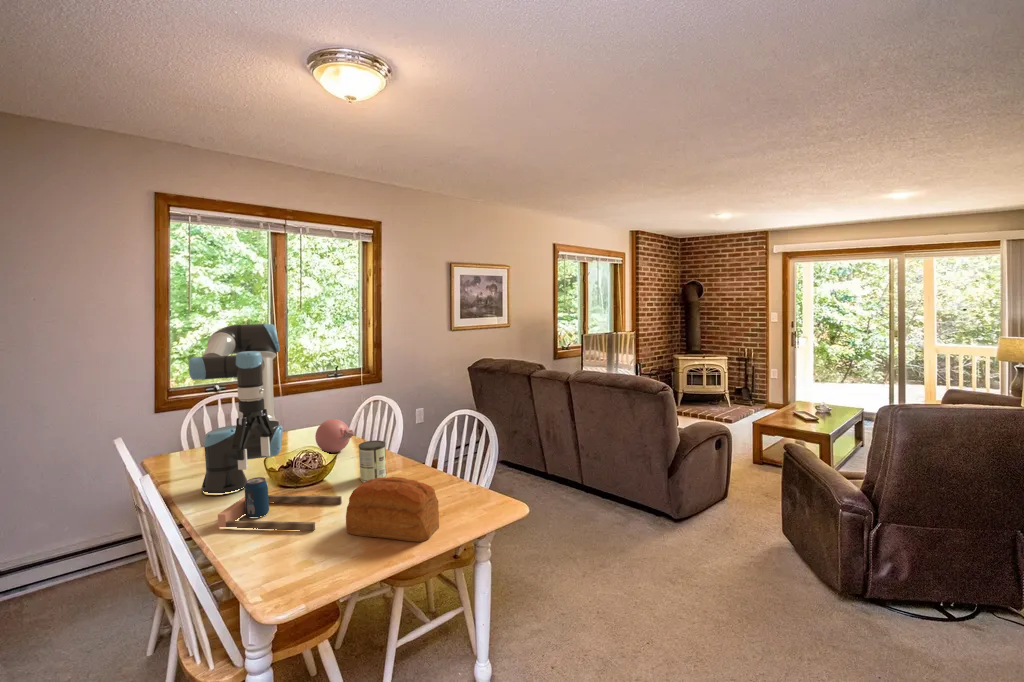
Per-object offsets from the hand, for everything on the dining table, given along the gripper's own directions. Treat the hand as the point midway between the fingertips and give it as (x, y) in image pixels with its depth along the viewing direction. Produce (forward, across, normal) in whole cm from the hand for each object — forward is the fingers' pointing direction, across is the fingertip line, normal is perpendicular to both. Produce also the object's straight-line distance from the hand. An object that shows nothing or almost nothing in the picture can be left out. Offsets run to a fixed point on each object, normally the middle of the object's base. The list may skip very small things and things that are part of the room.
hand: (254, 462), depth 173 cm
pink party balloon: (+19, +70, +1) cm, 72 cm away
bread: (+18, -9, -49) cm, 53 cm away
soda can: (+18, 0, 0) cm, 18 cm away
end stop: (+18, 0, +5) cm, 19 cm away
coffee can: (+18, +36, -27) cm, 48 cm away
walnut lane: (+18, 0, -10) cm, 21 cm away
